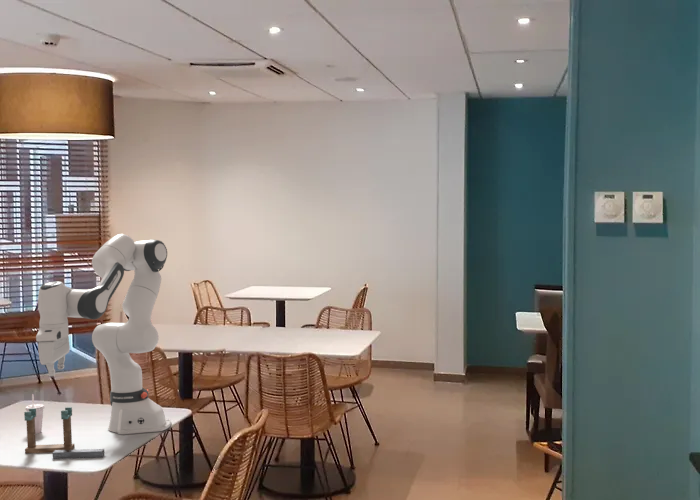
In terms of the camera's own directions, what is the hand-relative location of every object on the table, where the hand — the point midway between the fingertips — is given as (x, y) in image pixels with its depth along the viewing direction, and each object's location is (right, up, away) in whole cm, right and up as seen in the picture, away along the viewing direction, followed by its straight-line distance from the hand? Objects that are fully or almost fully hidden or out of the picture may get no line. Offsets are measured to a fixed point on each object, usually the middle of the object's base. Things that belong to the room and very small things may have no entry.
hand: (56, 372), depth 251 cm
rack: (-3, -27, +3) cm, 27 cm away
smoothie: (-18, -26, +26) cm, 41 cm away
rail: (+9, -27, -4) cm, 29 cm away
